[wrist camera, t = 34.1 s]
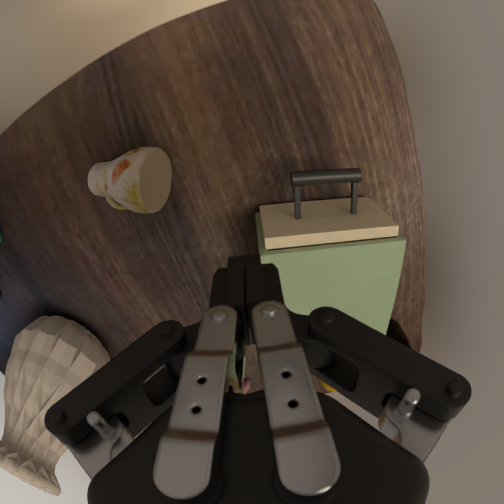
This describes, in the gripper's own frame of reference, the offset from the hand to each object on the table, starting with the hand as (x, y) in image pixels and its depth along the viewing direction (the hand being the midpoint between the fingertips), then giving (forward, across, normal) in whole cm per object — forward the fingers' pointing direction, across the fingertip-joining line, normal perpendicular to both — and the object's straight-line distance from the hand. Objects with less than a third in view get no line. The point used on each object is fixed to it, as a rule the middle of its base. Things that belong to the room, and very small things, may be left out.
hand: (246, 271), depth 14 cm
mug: (+21, +13, -1) cm, 25 cm away
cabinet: (+21, -8, +15) cm, 27 cm away
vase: (+21, +35, +26) cm, 48 cm away
